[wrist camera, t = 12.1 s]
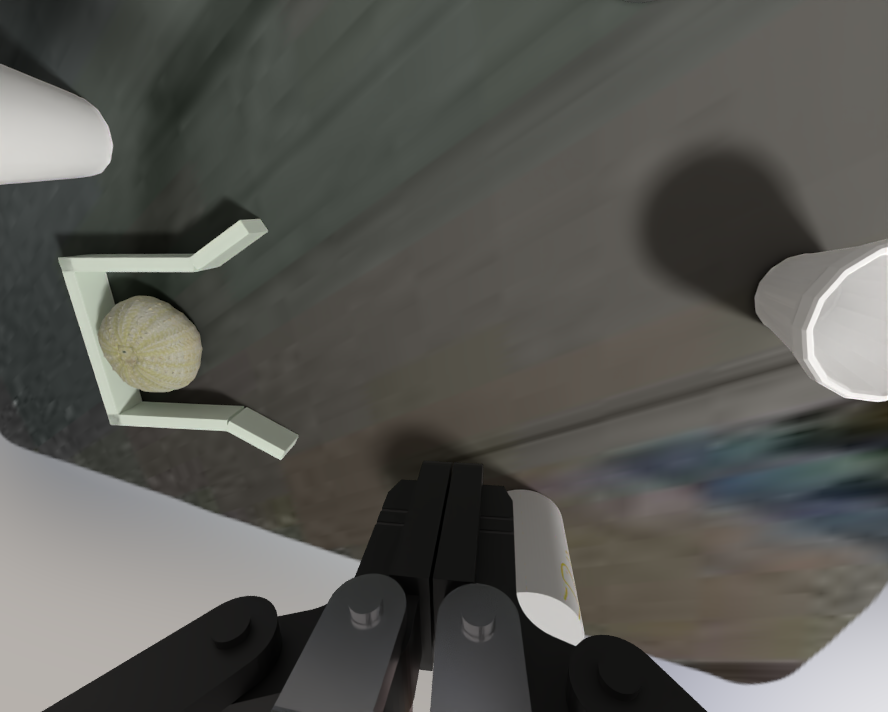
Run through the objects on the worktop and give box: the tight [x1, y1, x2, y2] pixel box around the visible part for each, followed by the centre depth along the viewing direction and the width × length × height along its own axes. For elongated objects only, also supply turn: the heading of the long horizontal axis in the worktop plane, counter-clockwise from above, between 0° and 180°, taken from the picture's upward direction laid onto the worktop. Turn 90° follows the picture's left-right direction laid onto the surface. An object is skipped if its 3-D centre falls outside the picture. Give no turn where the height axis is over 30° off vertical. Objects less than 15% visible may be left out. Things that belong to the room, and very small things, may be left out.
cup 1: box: [507, 489, 584, 646], centre depth 38 cm, size 8×8×12 cm
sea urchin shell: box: [97, 295, 203, 392], centre depth 40 cm, size 9×8×8 cm
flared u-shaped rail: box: [58, 219, 299, 460], centre depth 40 cm, size 22×18×3 cm
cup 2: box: [754, 239, 888, 402], centre depth 29 cm, size 10×10×9 cm
